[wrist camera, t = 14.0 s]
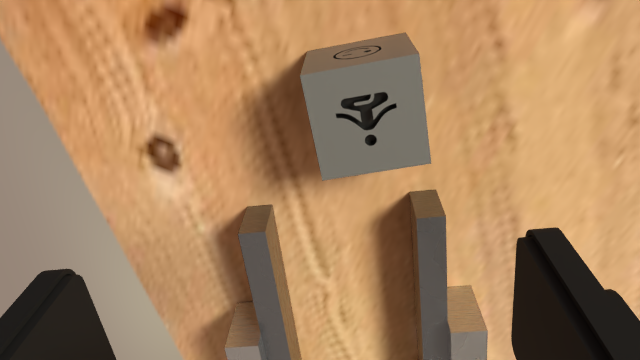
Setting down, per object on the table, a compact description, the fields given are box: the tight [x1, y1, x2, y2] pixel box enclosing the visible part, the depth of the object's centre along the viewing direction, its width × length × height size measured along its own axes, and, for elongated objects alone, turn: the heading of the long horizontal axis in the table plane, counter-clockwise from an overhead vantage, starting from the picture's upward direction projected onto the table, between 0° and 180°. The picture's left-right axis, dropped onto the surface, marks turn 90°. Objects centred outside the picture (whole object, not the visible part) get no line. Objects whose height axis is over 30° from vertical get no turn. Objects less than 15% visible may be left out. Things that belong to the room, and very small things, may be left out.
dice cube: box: [300, 33, 431, 181], centre depth 24 cm, size 5×5×5 cm
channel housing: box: [225, 190, 488, 360], centre depth 32 cm, size 20×15×4 cm
